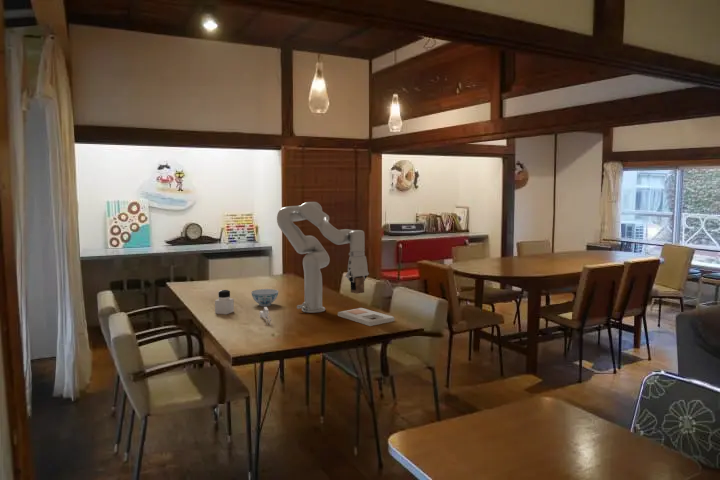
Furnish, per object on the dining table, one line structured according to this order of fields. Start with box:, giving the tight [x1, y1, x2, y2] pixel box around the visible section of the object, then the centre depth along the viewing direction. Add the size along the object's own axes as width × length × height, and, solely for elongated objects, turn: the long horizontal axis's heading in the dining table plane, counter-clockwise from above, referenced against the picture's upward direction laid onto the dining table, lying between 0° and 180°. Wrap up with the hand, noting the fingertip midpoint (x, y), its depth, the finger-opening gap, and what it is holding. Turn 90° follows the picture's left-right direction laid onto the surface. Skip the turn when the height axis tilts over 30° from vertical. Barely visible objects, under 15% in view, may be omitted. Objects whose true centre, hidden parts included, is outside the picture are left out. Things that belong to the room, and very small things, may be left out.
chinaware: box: [251, 288, 279, 307], centre depth 302 cm, size 15×15×8 cm
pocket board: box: [337, 307, 395, 327], centre depth 273 cm, size 16×26×2 cm, turn 39°
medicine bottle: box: [214, 289, 235, 315], centre depth 283 cm, size 7×7×12 cm
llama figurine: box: [258, 306, 272, 326], centre depth 266 cm, size 2×11×18 cm
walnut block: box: [350, 276, 365, 294], centre depth 276 cm, size 5×5×8 cm
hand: (357, 288), depth 277 cm, fingers closed on walnut block, 5 cm apart
